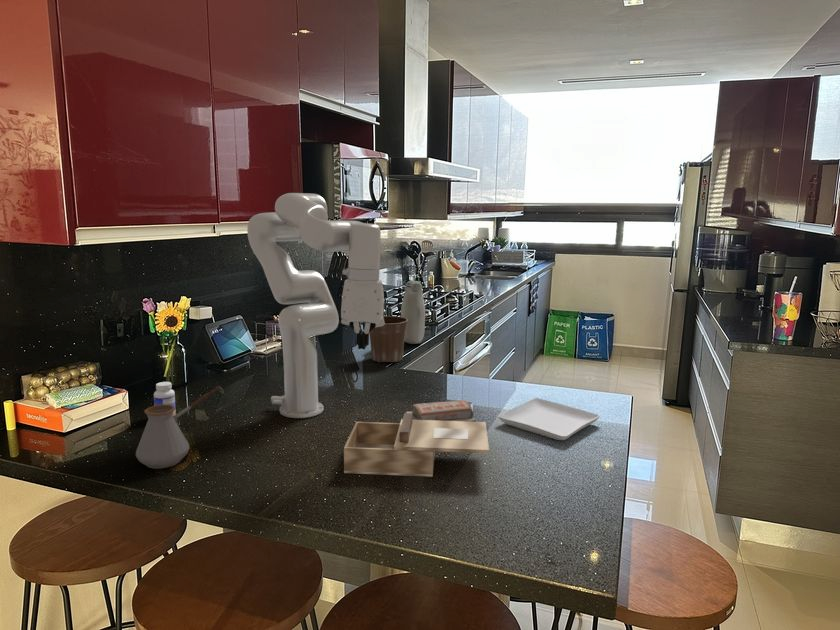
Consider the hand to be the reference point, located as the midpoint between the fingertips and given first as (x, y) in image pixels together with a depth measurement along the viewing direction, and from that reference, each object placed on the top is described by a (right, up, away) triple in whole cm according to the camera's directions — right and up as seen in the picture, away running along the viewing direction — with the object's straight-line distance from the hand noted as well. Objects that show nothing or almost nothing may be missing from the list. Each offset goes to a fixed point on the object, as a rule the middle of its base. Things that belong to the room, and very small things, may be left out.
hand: (362, 347), depth 142 cm
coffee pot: (-42, -26, -5) cm, 50 cm away
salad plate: (+50, -23, +17) cm, 58 cm away
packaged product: (+20, -22, +21) cm, 36 cm away
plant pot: (+1, -10, +83) cm, 84 cm away
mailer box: (+8, -26, -6) cm, 28 cm away
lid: (+20, -20, -8) cm, 29 cm away
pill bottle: (-58, -21, +19) cm, 64 cm away
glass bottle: (+11, -5, +110) cm, 111 cm away
